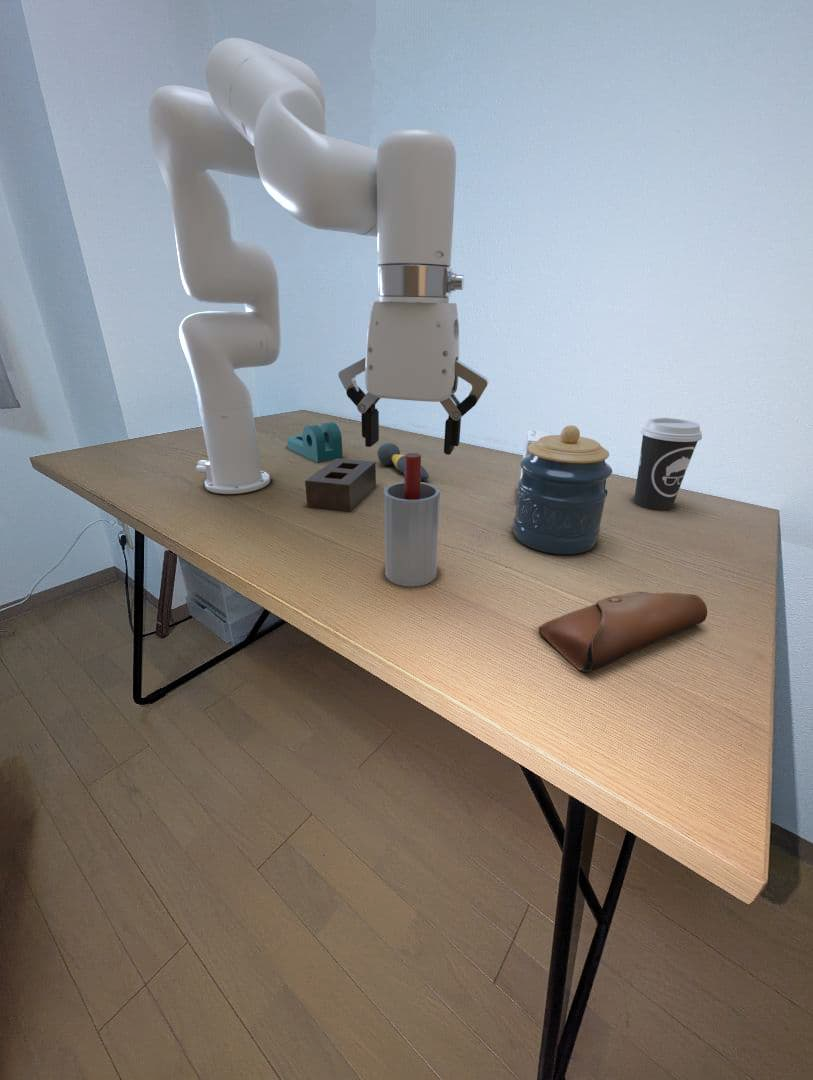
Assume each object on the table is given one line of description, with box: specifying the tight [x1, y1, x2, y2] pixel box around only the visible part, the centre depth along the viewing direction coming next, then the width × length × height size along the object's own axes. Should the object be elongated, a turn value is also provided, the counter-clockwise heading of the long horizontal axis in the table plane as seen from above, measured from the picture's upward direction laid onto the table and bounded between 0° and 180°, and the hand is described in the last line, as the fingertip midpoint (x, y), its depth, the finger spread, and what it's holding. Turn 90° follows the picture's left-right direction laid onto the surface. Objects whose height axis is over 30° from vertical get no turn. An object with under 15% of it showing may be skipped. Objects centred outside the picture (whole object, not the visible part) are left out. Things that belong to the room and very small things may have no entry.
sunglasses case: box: [538, 591, 708, 673], centre depth 52 cm, size 18×7×7 cm
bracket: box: [286, 421, 344, 464], centre depth 116 cm, size 18×7×8 cm, turn 39°
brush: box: [404, 452, 422, 500], centre depth 61 cm, size 3×3×16 cm
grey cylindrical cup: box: [383, 481, 441, 588], centre depth 62 cm, size 7×7×12 cm
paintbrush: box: [377, 443, 430, 481], centre depth 103 cm, size 20×5×5 cm, turn 38°
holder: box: [304, 458, 377, 512], centre depth 90 cm, size 8×14×5 cm, turn 165°
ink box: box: [519, 430, 554, 480], centre depth 88 cm, size 9×5×12 cm, turn 167°
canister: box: [512, 424, 613, 555], centre depth 71 cm, size 13×13×18 cm
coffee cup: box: [633, 417, 703, 511], centre depth 84 cm, size 10×10×15 cm
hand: (409, 447), depth 57 cm, fingers open, 9 cm apart
